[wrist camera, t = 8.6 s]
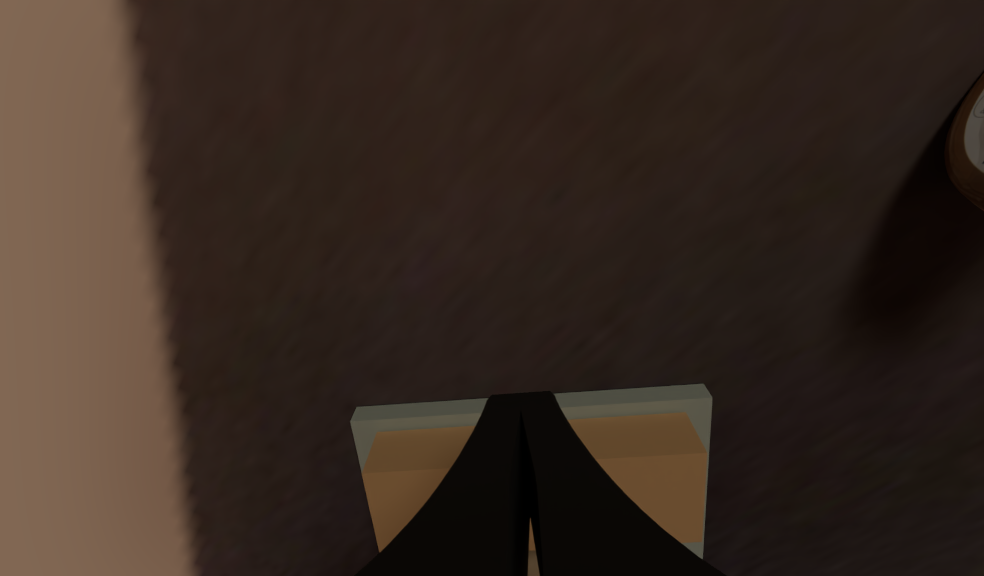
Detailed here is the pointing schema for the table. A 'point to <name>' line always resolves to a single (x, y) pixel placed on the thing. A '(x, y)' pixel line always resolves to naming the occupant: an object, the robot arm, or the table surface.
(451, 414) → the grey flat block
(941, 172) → the table surface
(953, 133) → the tin
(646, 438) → the block
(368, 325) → the table surface
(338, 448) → the table surface
